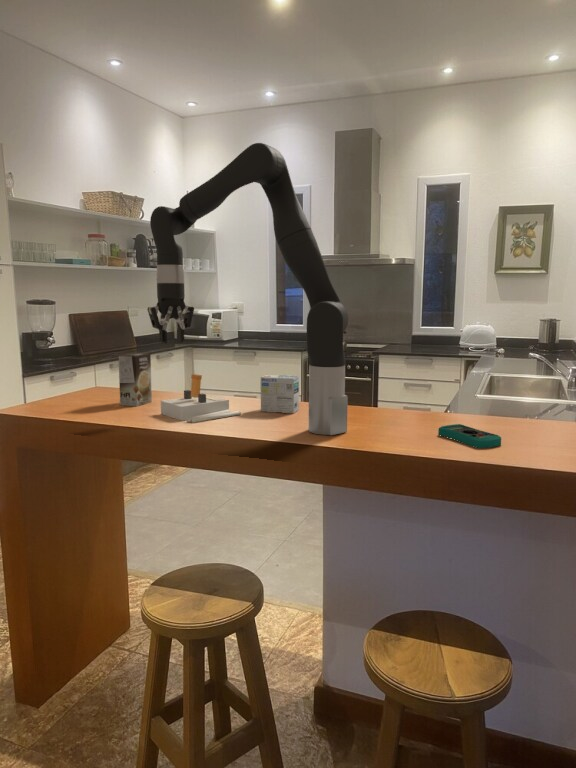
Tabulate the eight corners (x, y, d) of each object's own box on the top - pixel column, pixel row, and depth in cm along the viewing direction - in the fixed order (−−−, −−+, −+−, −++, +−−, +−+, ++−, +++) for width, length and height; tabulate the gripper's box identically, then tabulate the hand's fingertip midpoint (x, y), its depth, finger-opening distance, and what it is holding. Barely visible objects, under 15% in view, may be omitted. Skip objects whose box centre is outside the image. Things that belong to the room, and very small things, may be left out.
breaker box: (229, 413, 169) (228, 392, 168) (182, 420, 159) (181, 398, 158) (206, 407, 178) (206, 387, 177) (161, 414, 168) (160, 392, 167)
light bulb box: (299, 409, 175) (299, 375, 173) (294, 414, 168) (294, 378, 167) (266, 407, 177) (266, 373, 176) (260, 412, 171) (259, 376, 169)
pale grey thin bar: (230, 413, 168) (230, 409, 168) (189, 422, 156) (189, 418, 156) (227, 413, 169) (227, 409, 169) (186, 422, 157) (186, 417, 157)
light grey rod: (240, 415, 166) (240, 411, 166) (193, 423, 156) (193, 418, 156) (238, 414, 167) (238, 410, 167) (191, 422, 157) (191, 418, 157)
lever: (200, 397, 167) (201, 375, 166) (195, 397, 166) (197, 375, 165) (194, 396, 169) (196, 374, 169) (190, 396, 168) (191, 374, 168)
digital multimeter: (479, 451, 130) (480, 438, 130) (436, 436, 143) (437, 425, 143) (503, 447, 133) (504, 435, 133) (459, 433, 146) (459, 422, 146)
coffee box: (137, 406, 178) (135, 356, 176) (119, 405, 180) (117, 355, 178) (152, 401, 187) (151, 353, 185) (135, 400, 189) (133, 352, 187)
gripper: (153, 281, 150) (155, 345, 153) (199, 282, 160) (200, 342, 162) (140, 281, 156) (142, 343, 159) (185, 282, 165) (187, 341, 168)
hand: (172, 342), depth 160 cm, fingers open, 4 cm apart
